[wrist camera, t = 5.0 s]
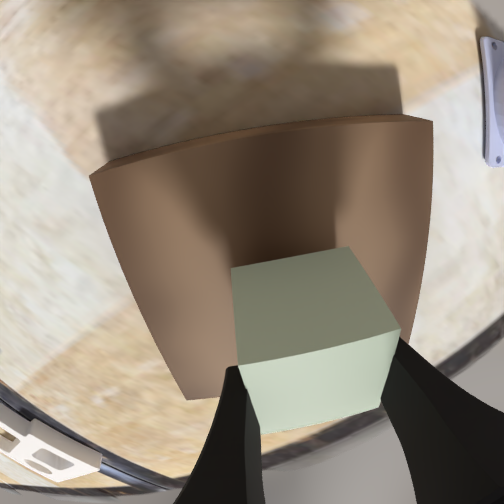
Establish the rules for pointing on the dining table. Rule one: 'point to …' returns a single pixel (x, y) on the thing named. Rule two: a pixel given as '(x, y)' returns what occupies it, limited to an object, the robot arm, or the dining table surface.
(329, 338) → the sage block
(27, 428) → the holder
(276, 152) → the walnut base
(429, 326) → the dining table surface
